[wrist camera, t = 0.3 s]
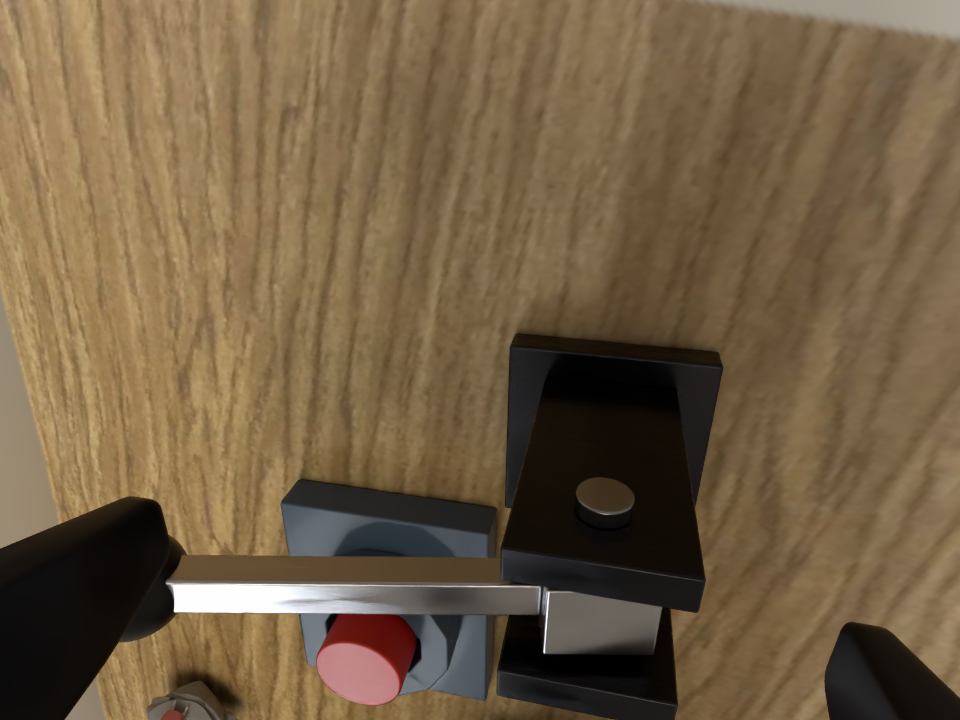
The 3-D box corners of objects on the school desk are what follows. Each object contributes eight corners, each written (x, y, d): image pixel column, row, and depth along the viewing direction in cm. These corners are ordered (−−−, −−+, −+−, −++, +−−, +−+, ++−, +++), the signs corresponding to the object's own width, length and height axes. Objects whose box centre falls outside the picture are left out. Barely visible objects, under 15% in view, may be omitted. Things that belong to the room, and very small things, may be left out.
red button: (418, 669, 26) (403, 714, 25) (340, 654, 27) (319, 696, 25) (415, 609, 25) (399, 651, 23) (332, 594, 26) (310, 634, 24)
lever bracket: (509, 489, 25) (448, 710, 17) (515, 332, 22) (443, 503, 14) (687, 514, 24) (720, 769, 15) (719, 350, 21) (784, 553, 12)
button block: (493, 670, 30) (477, 739, 27) (321, 636, 32) (288, 698, 29) (496, 507, 26) (479, 567, 23) (298, 478, 27) (256, 530, 24)
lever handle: (119, 581, 18) (60, 667, 15) (94, 504, 17) (24, 583, 14) (630, 585, 18) (654, 672, 15) (642, 509, 17) (670, 589, 14)
